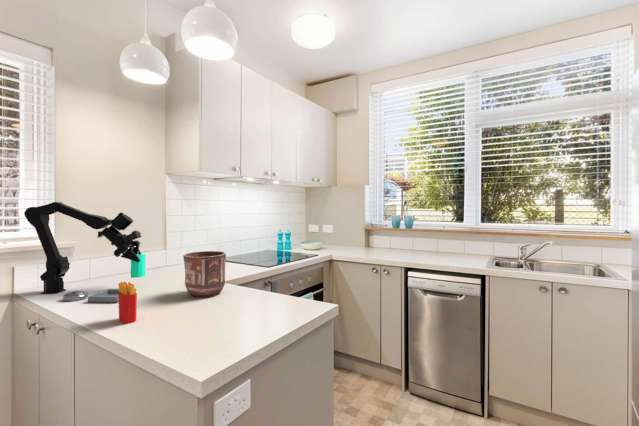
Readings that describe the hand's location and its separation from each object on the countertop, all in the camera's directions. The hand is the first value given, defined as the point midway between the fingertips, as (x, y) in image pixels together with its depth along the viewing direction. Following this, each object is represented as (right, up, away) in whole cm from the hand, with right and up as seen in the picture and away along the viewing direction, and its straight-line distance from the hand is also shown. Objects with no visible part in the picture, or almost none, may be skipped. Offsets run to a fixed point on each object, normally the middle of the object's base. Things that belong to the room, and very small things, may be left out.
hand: (141, 260), depth 152 cm
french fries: (+19, -14, -43) cm, 49 cm away
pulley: (-18, -13, -18) cm, 29 cm away
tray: (-3, -14, -17) cm, 22 cm away
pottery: (+33, -14, -9) cm, 37 cm away
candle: (-1, -8, -1) cm, 8 cm away
